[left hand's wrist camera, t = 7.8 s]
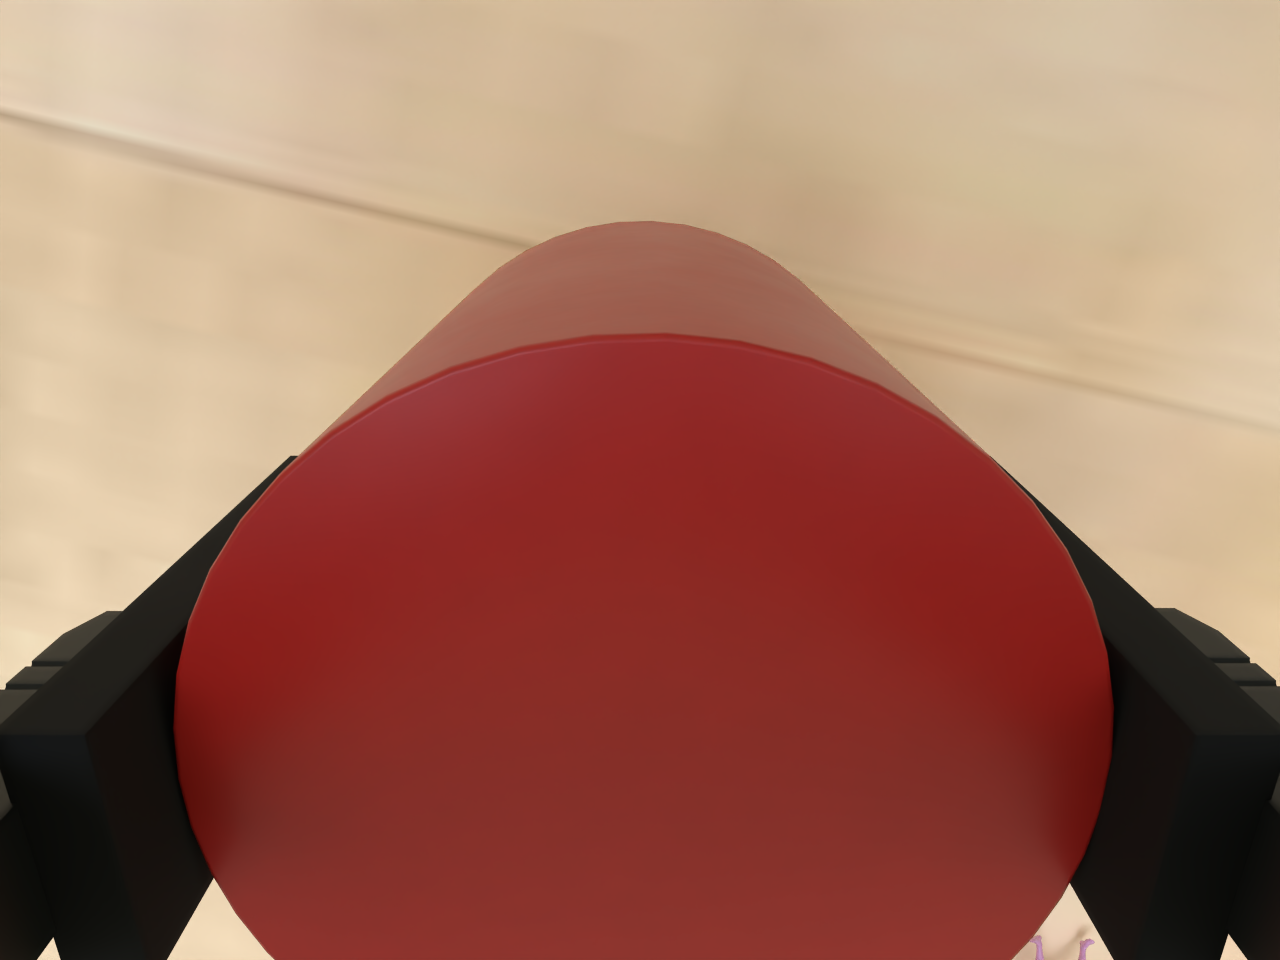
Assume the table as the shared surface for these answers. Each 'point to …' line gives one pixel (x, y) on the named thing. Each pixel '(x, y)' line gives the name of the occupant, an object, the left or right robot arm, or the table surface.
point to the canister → (643, 644)
